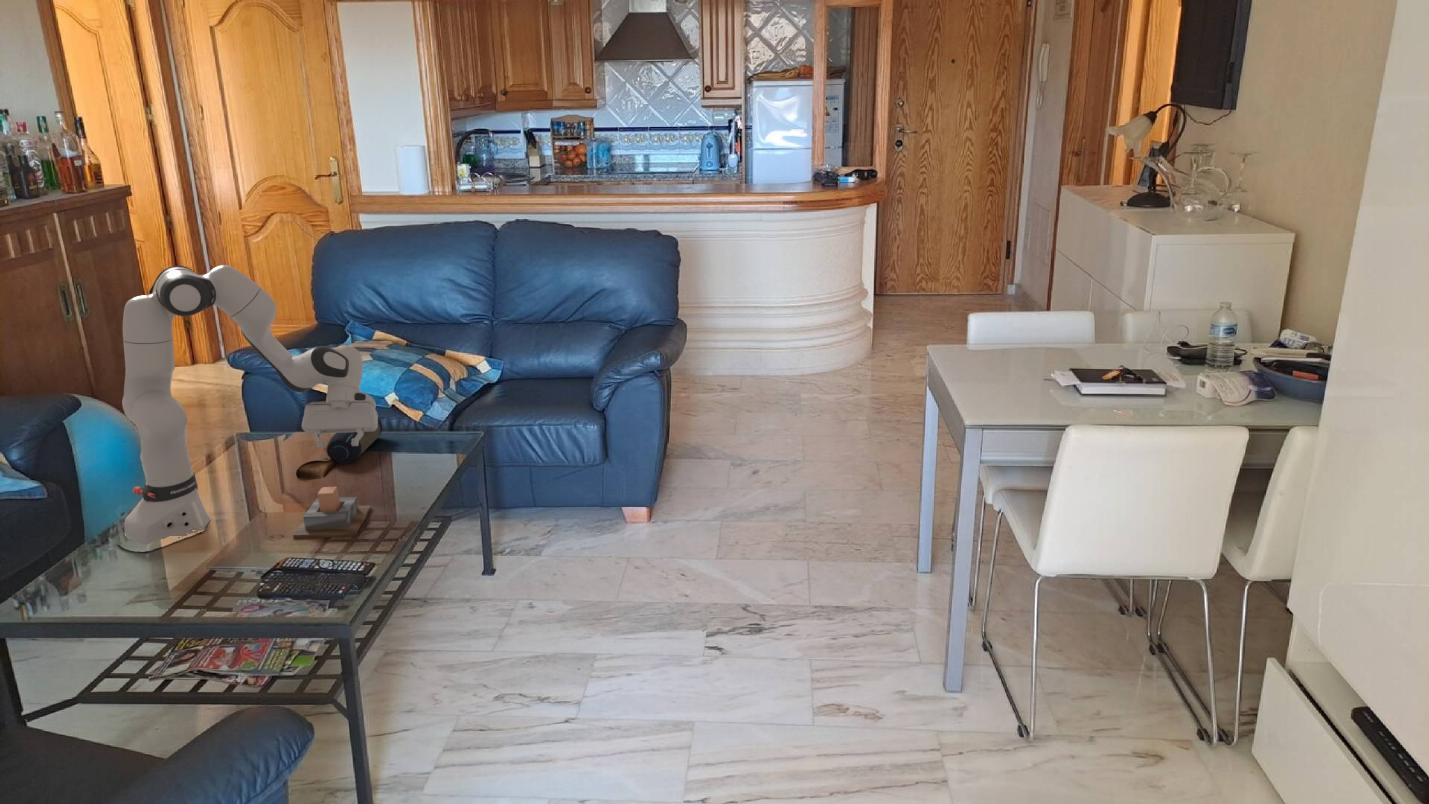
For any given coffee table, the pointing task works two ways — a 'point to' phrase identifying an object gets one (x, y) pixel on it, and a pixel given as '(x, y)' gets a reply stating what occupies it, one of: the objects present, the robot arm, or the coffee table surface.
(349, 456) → the portable speaker
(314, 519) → the well
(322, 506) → the post
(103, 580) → the coffee table surface
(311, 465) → the sunglasses case
